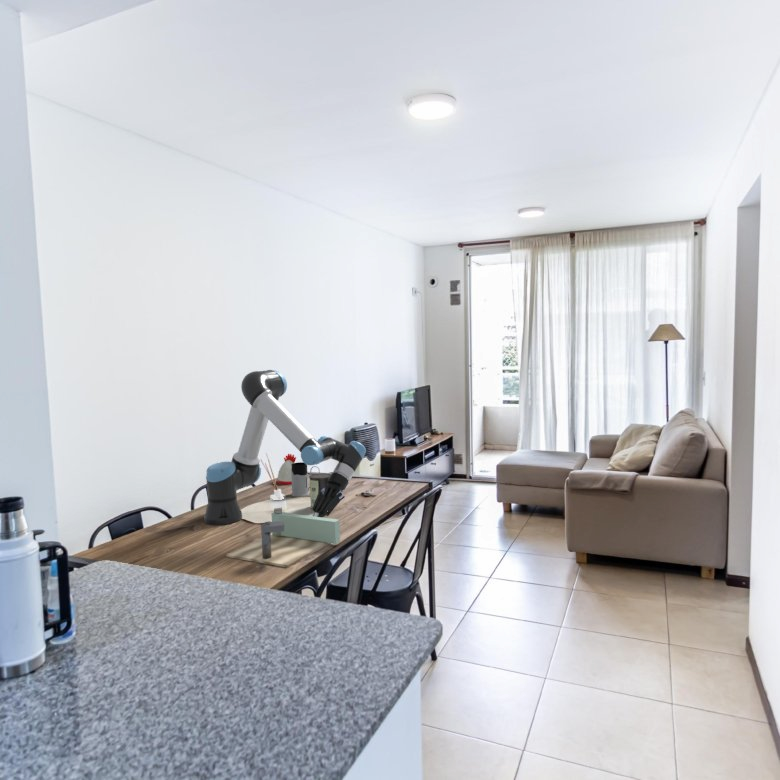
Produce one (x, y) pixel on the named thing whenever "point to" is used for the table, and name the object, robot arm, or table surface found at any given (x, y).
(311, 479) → the coffee can
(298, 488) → the grey and black mug
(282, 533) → the link
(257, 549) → the pintle board
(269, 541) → the keeper
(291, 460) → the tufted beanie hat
